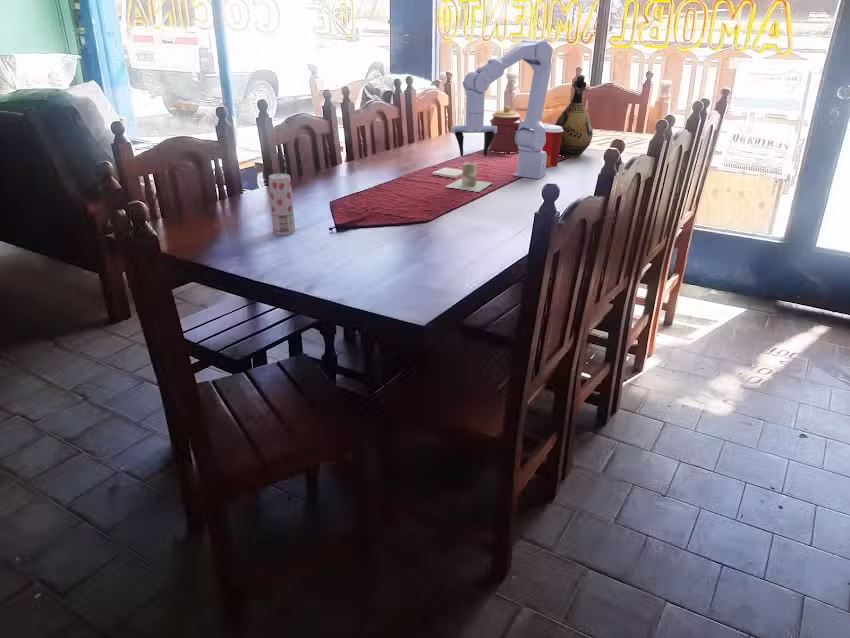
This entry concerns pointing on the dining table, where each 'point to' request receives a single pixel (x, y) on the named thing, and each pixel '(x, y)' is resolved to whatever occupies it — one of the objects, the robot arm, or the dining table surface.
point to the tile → (449, 172)
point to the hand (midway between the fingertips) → (473, 155)
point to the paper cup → (552, 144)
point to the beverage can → (281, 204)
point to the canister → (505, 131)
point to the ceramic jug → (575, 124)
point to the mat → (476, 188)
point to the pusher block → (469, 174)
